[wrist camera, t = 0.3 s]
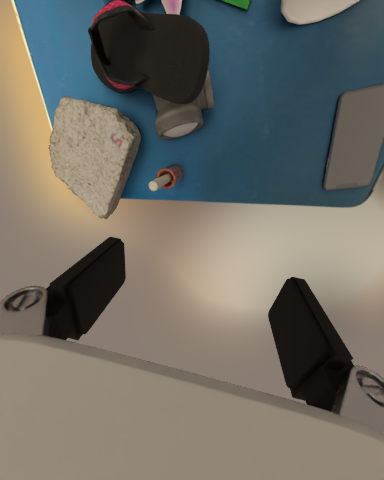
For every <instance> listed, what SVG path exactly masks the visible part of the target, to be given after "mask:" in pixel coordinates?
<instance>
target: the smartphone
mask: <svg viewBox="0 0 384 480" xmlns="http://www.w3.org/2000/svg"><path fill="white" fill-rule="evenodd" d="M383 140H384V84H381V85H376V86H371V87H367V88H361V89H356V90H352V91H347V92H344V93H343V94H342V95H341V96H340V98H339V101H338V107H337V112H336V118H335V123H334V129H333V134H332V140H331V145H330V151H329V156H328V161H327V166H326V173H325V178H324V184H323V187H324V189H325V190H335V189H345V188H355V187H365V186H367V185H369V184H370V182H371V180H372V177H373V174H374V170H375V167H376V163H377V160H378V157H379V153H380V150H381V147H382V143H383Z"/></svg>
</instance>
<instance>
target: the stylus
mask: <svg viewBox="0 0 384 480" xmlns="http://www.w3.org/2000/svg"><path fill="white" fill-rule="evenodd" d="M171 180H173V176H172V174H171V173H168V174H166V175H163V176H161V177H159V178H157V179H155V180H153V181H151V182H150V183H149V188H150V189H151V190H152V191H156V190H157V189H159V188H160V187H162V186H164V185H165V184H167V183H168V182H170V181H171Z"/></svg>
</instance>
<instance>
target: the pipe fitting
mask: <svg viewBox="0 0 384 480" xmlns="http://www.w3.org/2000/svg"><path fill="white" fill-rule="evenodd" d="M153 98H154V101H155V104H156V108H157V111H158V115H157V118H156V122H155V128H156V131H157V135H158V138H160V139H174V138H178V137H181V136H184V135H187V134H190V133H192V132H194V131H196V130H198V129H199V128H201V127H202V125H203V118H202V113H201V109H206V108H207V109H210V108H213V107H214V98H213V90H212V84H211V79H210V74H209V70H208V71H207V76H206V80H205V83H204V86H203V89H202V91H201V93H200V94H199V96H198V97H197V98H196V99H195V100H194V101H193V102H191V103H189V104H177V103H173V102H169V101H167V100H164V99H162V98H160V97H157V96H155V95H153Z"/></svg>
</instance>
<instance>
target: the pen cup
mask: <svg viewBox="0 0 384 480" xmlns="http://www.w3.org/2000/svg"><path fill="white" fill-rule="evenodd" d="M168 173H171V174H172V176H173V180H171V181H170V182H168V183H167V184H165V185H164V186H162V187H163V188H166V189H168V188H171V187H173V186H174V185H175V184H177V183H178V182H179V181H180V180H181V179H182V178H183V170H182V169H181V167H179V166H178V165H172V166H169V167H167V168H164V169H161V170H160V171H159V172H158V174H157V178H159V177H161V176H163V175H166V174H168Z"/></svg>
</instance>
